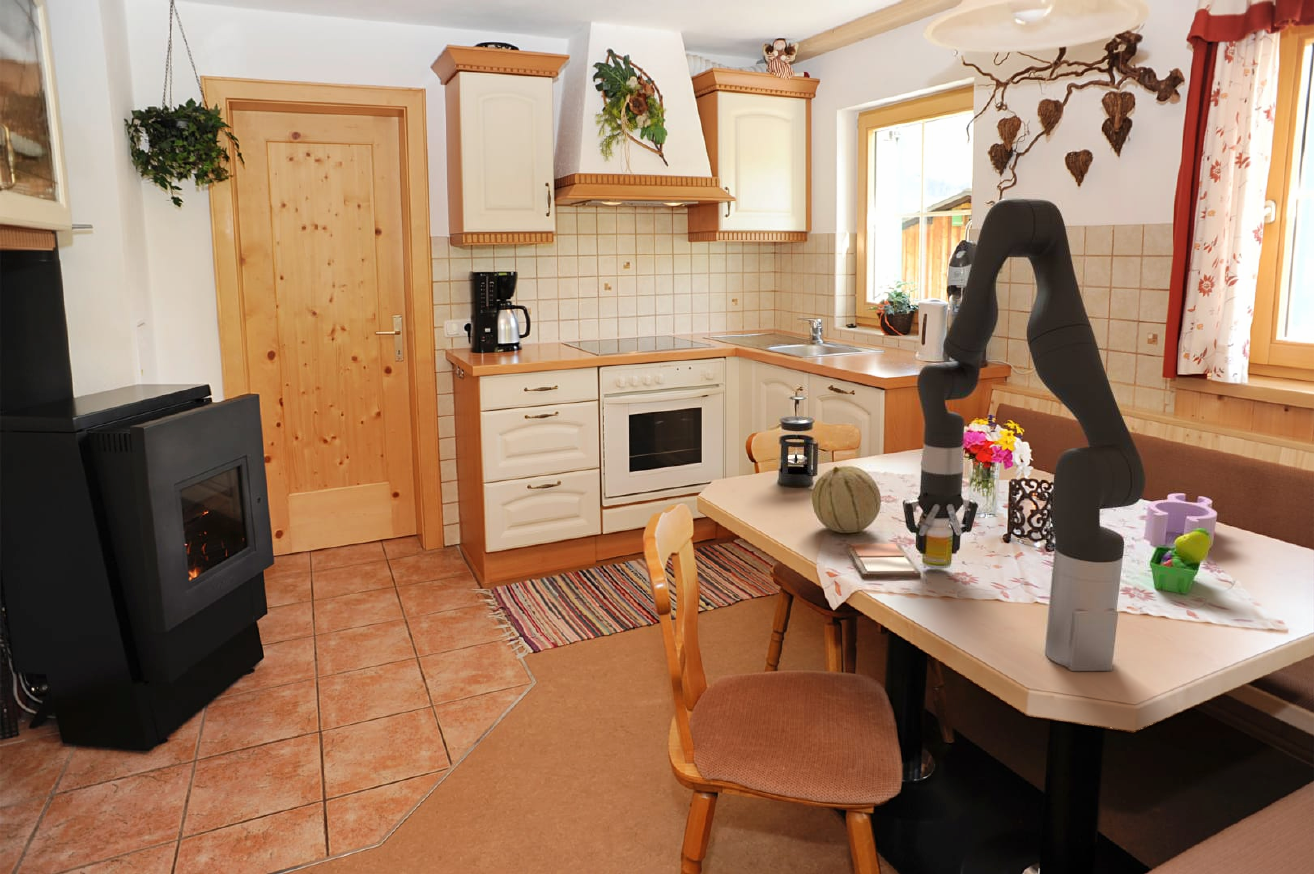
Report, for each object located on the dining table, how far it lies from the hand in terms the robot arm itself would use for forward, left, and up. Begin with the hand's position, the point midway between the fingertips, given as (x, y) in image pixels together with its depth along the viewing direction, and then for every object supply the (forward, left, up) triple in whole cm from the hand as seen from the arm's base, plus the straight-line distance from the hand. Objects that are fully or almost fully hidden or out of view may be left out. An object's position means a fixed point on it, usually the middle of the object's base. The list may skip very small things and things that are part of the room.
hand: (937, 552), depth 169 cm
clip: (+18, -57, -4) cm, 60 cm away
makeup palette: (+4, +10, -4) cm, 11 cm away
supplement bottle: (0, 0, -3) cm, 3 cm away
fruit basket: (-8, -42, -4) cm, 43 cm away
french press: (+61, +18, -4) cm, 64 cm away
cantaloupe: (+23, +13, -4) cm, 27 cm away
